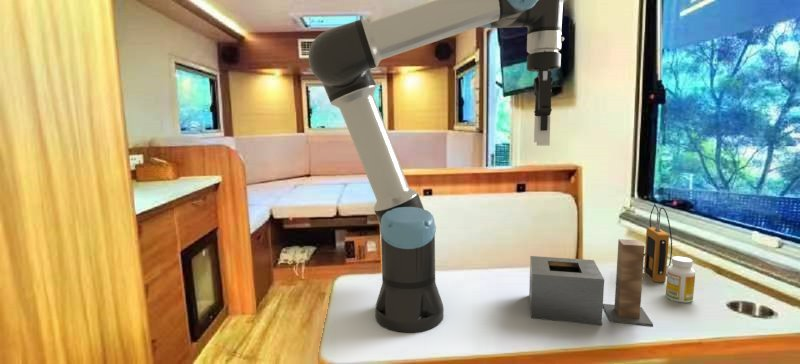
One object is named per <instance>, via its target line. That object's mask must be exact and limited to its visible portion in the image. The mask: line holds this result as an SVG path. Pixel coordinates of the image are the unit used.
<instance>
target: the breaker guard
mask: <svg viewBox="0 0 800 364" xmlns="http://www.w3.org/2000/svg"><path fill="white" fill-rule="evenodd" d="M529 259H530V260H529V262H530V263H529V293H528V295H529V305H530V307H529V309H530V319H538V320H546V321H558V322H565V323H566V322H567V323H577V324H578V323H579V324H585V325H586V324H587V325H595V326H603V310H604V307H603V304H604V292H605V291H604V290H605V278H604V276H603V274H602V273H601V271H600V269H599V267H598V264H596V261H595V260H594V259H586V258H585V259H583V258H582V259H580V258H570V257H569V258H568V257H567V258H566V257H555V256H554V257H552V256H537V255H535V256H534V255H530V257H529Z"/></svg>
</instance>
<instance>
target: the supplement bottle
mask: <svg viewBox="0 0 800 364" xmlns="http://www.w3.org/2000/svg"><path fill="white" fill-rule="evenodd" d="M693 264H694V263H693V259H691V258H689V257H687V256H686V257H684V256H681V255H680V256H679V255H678V256H677V255H676V256H673V257H671V264H670V266H669V265H668V267H667V270H666V275H667V276H666V285H665V287H666V288H665V296H666V297H667V299H669V300H672V301H673V302H677V303H687V304H688V303H691V302H693V300H694V292H695V291H694V290H695V284H696V283H695V282H696V281H695V280H696V271H695V269H694V268H692V267H693Z"/></svg>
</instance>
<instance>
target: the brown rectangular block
mask: <svg viewBox="0 0 800 364" xmlns="http://www.w3.org/2000/svg"><path fill="white" fill-rule="evenodd" d="M617 242H618V244H617V258H616V259H617V260H616V273H615V274H616V275H615V289H614V290H615V292H614V305H615V307H614V309H615V311H616V312H617V314H618V316H619V317H627V318H637V319H640V307H642V305H641V304H642V303H641V302H642V291H643V290H642V289H643V288H642V287H643V277H644V276H643V273H644V262H645V256H644V254H645V246H646V245H645V244H643V242H642V241H640V240H639V239H622V238H621V239H619V238H618V241H617Z"/></svg>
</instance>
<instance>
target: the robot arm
mask: <svg viewBox="0 0 800 364" xmlns="http://www.w3.org/2000/svg"><path fill="white" fill-rule="evenodd" d="M563 7H564V0H432V1H429V2H426V3H422V4H420V5H417V6H414V7H411V8H408V9H405V10H401V11H398V12H396V13H393V14H390V15H387V16H384V17H380V18H379V19H378V18H377V19H375V20H372V21H367V20H365V19H364V18H360V19H358V20H355V21H352V22H349V23H346V24H341V25H339V26H336V27H333V28H329V29H326V30H325V31H323V32H321V33H320V34H318V36H317V37H315V39H314V40H313V41H312V42H311V44H310V48H309V51H308V64H309V68H310V70H311V72H312V74H313V75H314V76H315V77H316V78H317V80H319V81H320V82H321V83H322V86H323V88H324V90H325V93H326V95H327V97H328V100H329V102H330V105H332V106H334V107H336V108H338V109H339V110H340V112H341V115H342V118H343V120H344V123H345V125H346V127H347V130H348V133H349V135H350V138H351V140H352V143H353V145H354V147H355V150H356V152H357V154H358V157H359V159H360V162H361V164H362V167H363V169H364V172H365V174H366V177H367V179H368V182H369V184H370V188H371V190H372V193H373V194H374V197H375V200H376V202H375V205H374V207H373V210H374V213H375V216H376V218H377V220H378V224H379V233H380V240H381V241H380V242H381V243H380V244H381V245H380V246H381V272H382V273H381V274H382V275H381V277H382V281H381V282H382V284H381V287H380V290H379V293H378V297H377V301H376V304H375V308H374V310H375V313H374V314H375V316H374V317H375V320H376V322H377V323H378V324H379V325H380V326H381V327H383V328H385V329H387V330H391V331H393V332H401V333H419V332H423V331H427V330H430V329H433V328H436V327H437V326H438V325H440V324H441V323H442V322H443V319H444V317H445V316H444V304H443V300H442V298H441V296H440V293H439V290H438V286H437V284H436V241H435V239H436V238H435V237H436V229H437V227H436V223H435V218H434V215H433V214H432V213H431V212H430V211H429V210H426V209H425V207H424V206H423V203H422V200H421V197H420V195H419V192H418V191H417V190H415V189H414V188H413V189H412V188H411V187H410V186H409V184H408V181H407V179H406V176H405V173H404V171H403V168H402V166H401V163H400V161H399V158H398V156H397V152H396V151H395V150H396V149H394V146H393V143H392V139H391V137H390V135H389V132H388V129H387V128H386V125H385V123H384V120H383V117H382V114H381V111H380V109H379V107H378V104H377V101H376V99H375V96H374V94H375V91H376V89H377V85H376V81H375V80H374V76H373V74H372V72H371V69H374V68H377V67H379V65H380V62H381V61H382V60H385V59H388V58H391V57H393V56H397V55H399V54H402V53H406V52H409V51H411V50H412V51H413V50H414V49H417V48H421V47H424V46H426V45H430V44H432V43H434V42H439V41H441V40H445V39H446V38H450V37H452V36H453V37H454V36H457V35H459V34H462V33H465V32H469V31H471V30H473V29H477V28H481V29H483V28H484V29H491V30H492V29H503V28H527V36H526V39H527V40H526V52H527V53H528V55H527V56H526V71H528V72H532V73H533V72H537V76H536V77H535V78H534V79H533V87H534V96H535V98H534V99H535V105H534V111H533V113H534V128H533V129H534V130H533V132H534V133H533V137H534V138H533V142H534V143H536V146H540V147H541V146H550V140H551V139H550V138H551V114H552V112H553V111H552V89H553V87H552V86H553V82H554V80H553V77H552V71H557V70H559V69H560V68H561V64H562V63H561V62H562V61H561V60H562V54H561V53H560V52H559V51H561V50H562V42H564V40H565V37H564V36H562V29H563V28H562V27H563V26H562V24H563V11H564V10H563Z"/></svg>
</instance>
